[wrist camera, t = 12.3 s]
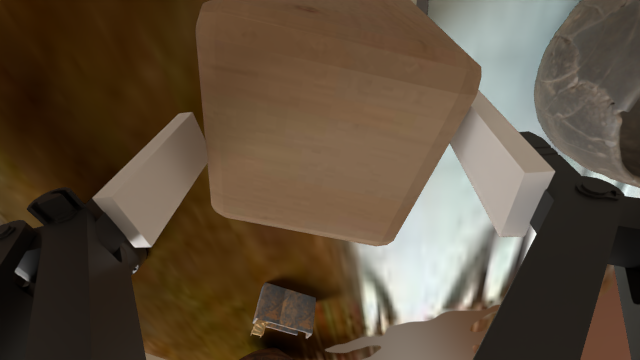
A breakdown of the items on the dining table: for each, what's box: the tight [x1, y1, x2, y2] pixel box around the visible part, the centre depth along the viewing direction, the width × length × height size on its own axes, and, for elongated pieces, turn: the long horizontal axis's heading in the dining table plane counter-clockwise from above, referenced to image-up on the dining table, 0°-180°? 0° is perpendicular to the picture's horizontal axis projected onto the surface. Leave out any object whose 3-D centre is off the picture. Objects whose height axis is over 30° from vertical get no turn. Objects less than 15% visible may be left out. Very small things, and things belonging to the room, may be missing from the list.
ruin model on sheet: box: [250, 282, 316, 338], centre depth 56 cm, size 11×3×10 cm, turn 66°
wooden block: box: [196, 0, 481, 246], centre depth 19 cm, size 10×10×20 cm
